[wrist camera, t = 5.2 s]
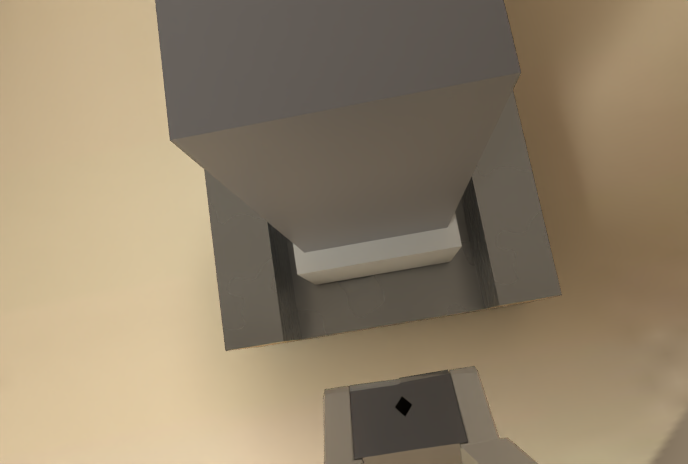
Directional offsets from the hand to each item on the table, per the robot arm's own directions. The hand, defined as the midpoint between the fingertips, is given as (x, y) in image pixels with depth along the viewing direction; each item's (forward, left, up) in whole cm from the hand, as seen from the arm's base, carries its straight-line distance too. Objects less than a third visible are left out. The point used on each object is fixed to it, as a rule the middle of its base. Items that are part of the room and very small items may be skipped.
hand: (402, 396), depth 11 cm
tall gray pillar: (0, +5, -5) cm, 7 cm away
